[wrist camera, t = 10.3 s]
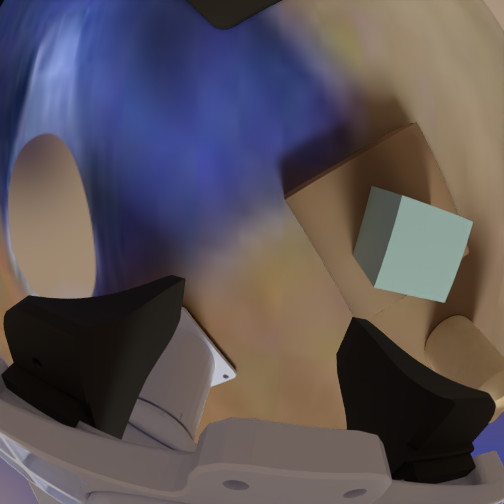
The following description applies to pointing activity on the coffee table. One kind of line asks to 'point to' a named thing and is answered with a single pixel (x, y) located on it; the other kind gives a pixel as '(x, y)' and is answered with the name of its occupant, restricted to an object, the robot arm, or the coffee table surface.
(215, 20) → the phone
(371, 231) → the painted block
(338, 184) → the walnut base
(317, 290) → the coffee table surface
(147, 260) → the coffee table surface
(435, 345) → the candle
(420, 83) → the coffee table surface
